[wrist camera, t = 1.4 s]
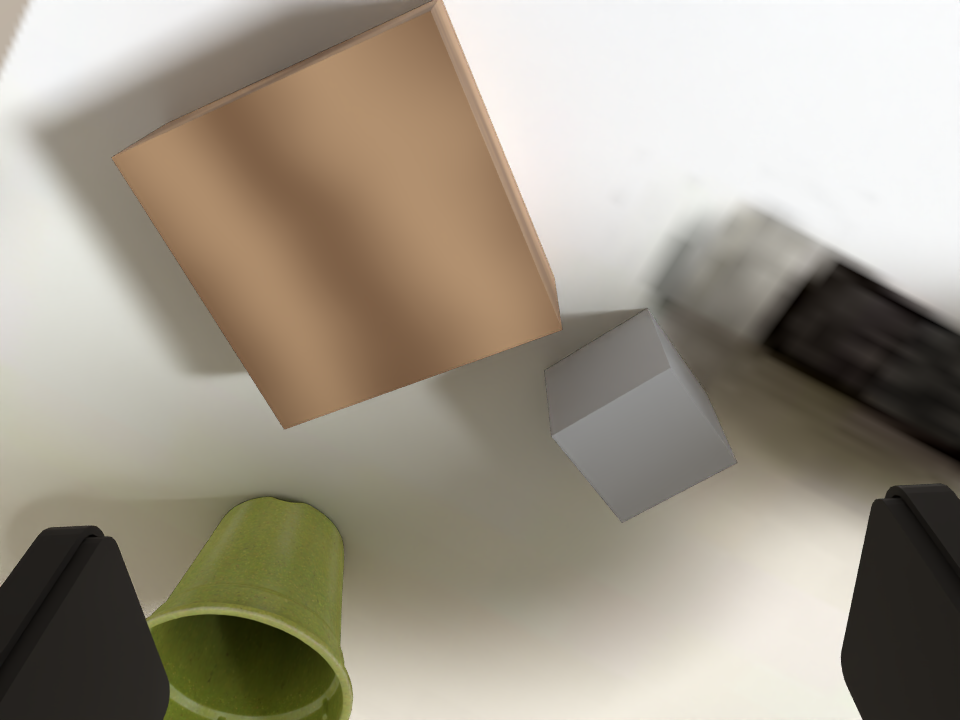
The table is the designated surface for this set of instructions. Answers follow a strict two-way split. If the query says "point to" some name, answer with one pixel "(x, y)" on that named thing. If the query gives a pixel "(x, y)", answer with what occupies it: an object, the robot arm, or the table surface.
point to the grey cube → (635, 418)
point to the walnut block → (351, 220)
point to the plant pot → (258, 620)
